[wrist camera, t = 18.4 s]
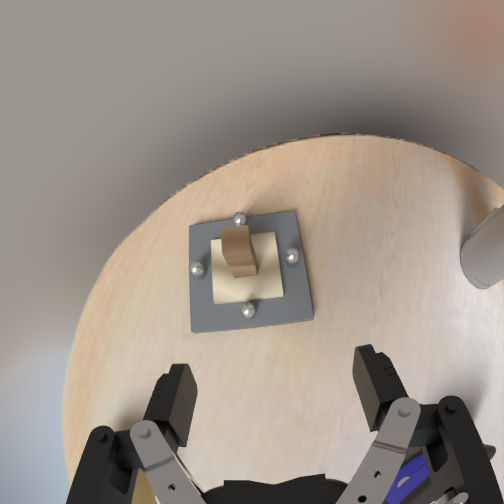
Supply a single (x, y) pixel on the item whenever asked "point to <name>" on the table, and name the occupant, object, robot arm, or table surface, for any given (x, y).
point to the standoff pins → (246, 307)
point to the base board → (267, 310)
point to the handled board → (251, 283)
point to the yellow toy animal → (143, 490)
